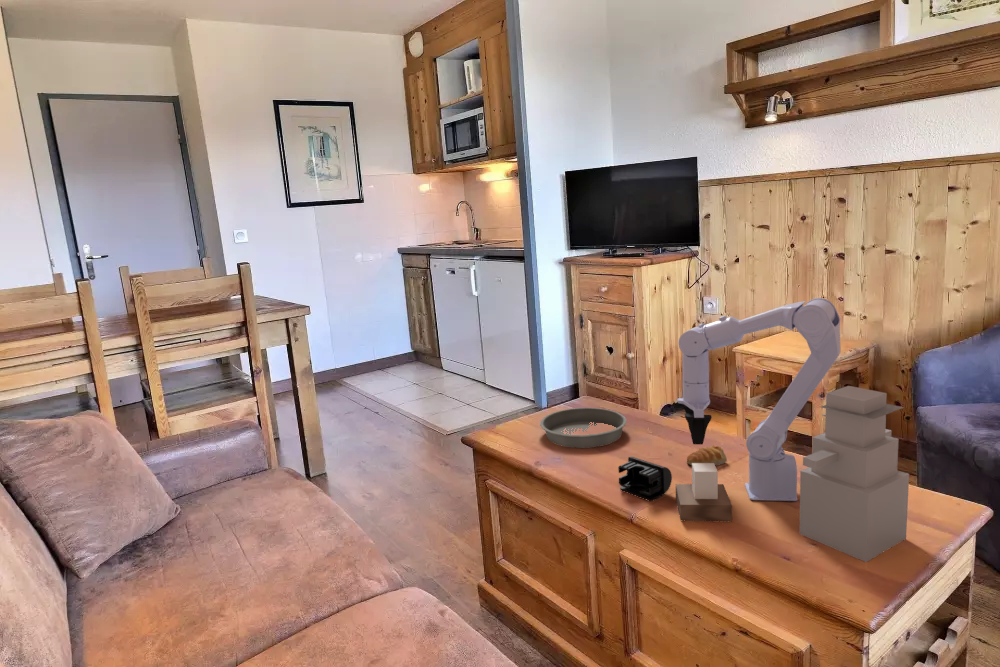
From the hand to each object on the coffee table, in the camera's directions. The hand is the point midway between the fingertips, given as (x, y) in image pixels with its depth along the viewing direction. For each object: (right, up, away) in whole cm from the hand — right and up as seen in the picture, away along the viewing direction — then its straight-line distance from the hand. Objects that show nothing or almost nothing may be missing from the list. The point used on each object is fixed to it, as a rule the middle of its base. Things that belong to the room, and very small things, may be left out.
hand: (696, 437), depth 149 cm
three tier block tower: (+21, -14, -27) cm, 37 cm away
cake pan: (-21, -6, +38) cm, 44 cm away
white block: (-2, -10, -13) cm, 17 cm away
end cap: (-12, -12, -1) cm, 17 cm away
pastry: (+6, -8, +12) cm, 16 cm away
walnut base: (-2, -14, -12) cm, 18 cm away
